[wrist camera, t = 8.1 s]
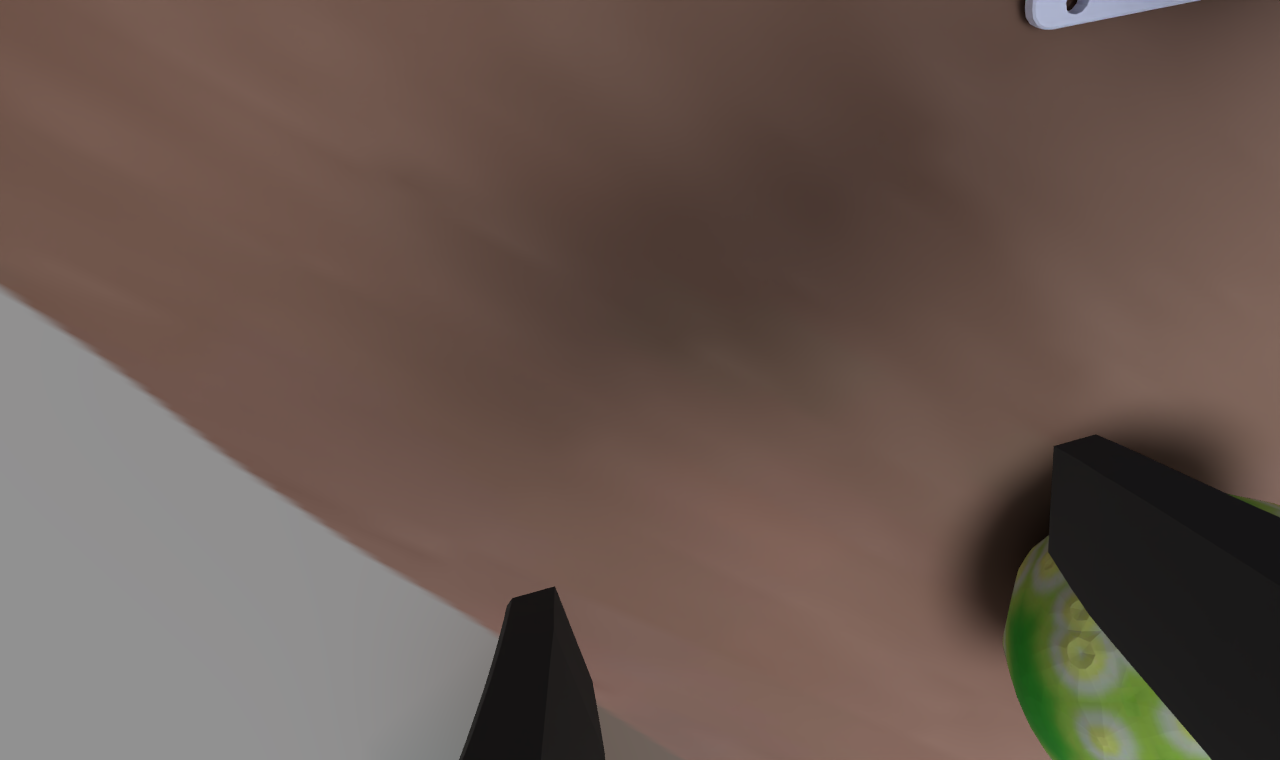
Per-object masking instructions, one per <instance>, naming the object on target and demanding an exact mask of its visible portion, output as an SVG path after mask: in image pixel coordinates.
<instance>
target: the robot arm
mask: <svg viewBox="0 0 1280 760" xmlns="http://www.w3.org/2000/svg"><path fill="white" fill-rule="evenodd" d="M1194 1H1199V0H1077V3H1076V5H1075V6H1074V7H1073V8H1072V9H1071V10H1069V11H1067V8H1066V2H1067V0H1025V15H1026V18H1027V20H1028V22H1029V23H1030V24H1031V25H1033V26H1034V27H1036V28H1040V29H1044V30H1053V29H1058V28H1063V27H1068V26H1073V25H1078V24H1083V23H1088V22H1093V21H1098V20H1103V19H1108V18H1113V17H1118V16H1123V15H1128V14H1133V13H1138V12H1143V11H1148V10H1153V9H1159V8H1164V7H1169V6H1174V5H1179V4H1184V3H1189V2H1194ZM1048 553H1049V554H1050V556H1051V558H1052V559H1053V561H1054V562H1055V564H1056V566H1057V567H1058V569H1059V570H1060V572H1061V573H1062V575H1063V577H1064V578H1065V580H1066V581H1067V583H1068V584H1069V586H1070V588H1071V589H1072V591H1073V592H1074V593H1075V595H1076V596H1077V598H1078V599H1079V601H1080V602H1081V604H1082V605H1083V607H1084V608H1085V610H1086V611H1087V613H1088V614H1089V615H1090V617H1091V618H1092V619H1093V620H1094V622H1095V623H1096V624H1097V625H1098V626H1099V628H1100V629H1101V630H1102V631H1103V632H1104V634H1105V635H1106V636H1107V637H1108V638H1109V640H1110V641H1111V642H1112V643H1113V644H1114V646H1115V647H1116V648H1117V649H1118V650H1119V652H1120V653H1121V654H1122V655H1123V656H1124V657H1125V659H1126V660H1127V661H1128V662H1129V663H1130V665H1131V666H1132V667H1133V668H1134V669H1135V670H1136V672H1137V673H1138V674H1139V675H1140V676H1141V677H1142V679H1143V680H1144V681H1145V682H1146V683H1147V684H1148V686H1149V687H1150V688H1151V689H1152V690H1153V691H1154V693H1155V694H1156V695H1157V696H1158V697H1159V698H1160V700H1161V701H1162V702H1163V703H1164V704H1165V705H1166V707H1167V708H1168V709H1169V710H1170V711H1171V713H1172V714H1173V715H1174V716H1175V717H1176V718H1177V720H1178V721H1179V722H1180V723H1181V724H1182V725H1183V727H1184V728H1185V729H1186V730H1187V731H1188V732H1189V734H1190V735H1191V736H1192V737H1193V738H1194V739H1195V741H1196V742H1197V743H1198V744H1199V745H1200V746H1201V748H1202V749H1203V750H1204V751H1205V752H1206V753H1207V755H1208V756H1209V757H1210V758H1211V760H1280V517H1278V516H1276V515H1274V514H1271V513H1269V512H1267V511H1264V510H1262V509H1260V508H1258V507H1255V506H1253V505H1251V504H1249V503H1246V502H1244V501H1242V500H1240V499H1237V498H1235V497H1233V496H1231V495H1228V494H1226V493H1224V492H1222V491H1220V490H1217V489H1215V488H1213V487H1211V486H1208V485H1206V484H1204V483H1202V482H1200V481H1198V480H1195V479H1193V478H1191V477H1189V476H1187V475H1185V474H1182V473H1180V472H1178V471H1176V470H1174V469H1172V468H1169V467H1167V466H1165V465H1163V464H1161V463H1159V462H1156V461H1154V460H1152V459H1150V458H1148V457H1146V456H1143V455H1141V454H1139V453H1137V452H1135V451H1133V450H1130V449H1128V448H1126V447H1124V446H1121V445H1119V444H1117V443H1115V442H1112V441H1110V440H1108V439H1105V438H1103V437H1101V436H1098V435H1092V436H1089V437H1085V438H1082V439H1078V440H1074V441H1071V442H1067V443H1064V444H1060V445H1057V446H1054V453H1053V471H1052V489H1051V507H1050V525H1049V543H1048ZM459 760H605V753H604V746H603V741H602V734H601V728H600V722H599V717H598V711H597V705H596V699H595V694H594V688H593V682H592V679H591V677H590V674H589V672H588V669H587V666H586V664H585V661H584V659H583V656H582V654H581V651H580V649H579V646H578V644H577V641H576V639H575V636H574V634H573V631H572V629H571V626H570V624H569V621H568V619H567V616H566V613H565V611H564V608H563V606H562V603H561V601H560V598H559V596H558V593H557V591H556V588H555V586H554V587H551V588H547V589H544V590H540V591H537V592H533V593H530V594H526V595H522V596H519V597H515V598H512V600H511V601H510V603H509V604H508V605H507V608H506V612H505V617H504V621H503V625H502V629H501V633H500V636H499V640H498V644H497V648H496V651H495V655H494V658H493V662H492V665H491V668H490V672H489V675H488V678H487V681H486V684H485V688H484V691H483V694H482V697H481V700H480V703H479V706H478V708H477V711H476V714H475V717H474V720H473V723H472V726H471V729H470V731H469V734H468V737H467V740H466V743H465V746H464V748H463V751H462V754H461V756H460V759H459Z"/></svg>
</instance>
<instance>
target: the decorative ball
mask: <svg viewBox="0 0 1280 760" xmlns="http://www.w3.org/2000/svg"><path fill="white" fill-rule="evenodd" d="M1228 495H1230V494H1228ZM1231 496H1233V497H1235V498H1237V499H1240V500H1242V501H1244V502H1246V503H1249V504H1251V505H1253V506H1255V507H1258V508H1260V509H1262V510H1264V511H1267V512H1269V513H1271V514H1274V515H1276V516H1278V517H1280V505H1277V504H1274V503H1270V502H1265V501H1261V500H1256V499H1250V498H1245V497H1240V496H1235V495H1231ZM1048 543H1049V535H1048V536H1047V537H1046V538H1045V539H1043V540H1042V541H1041V542H1040V543H1038V544H1037V545H1036V546H1034V547H1033V548H1032V549H1031V551H1030V552H1029V553H1028V555H1027V556H1026V558H1025V559H1024V561H1023V563H1022V564H1021V566H1020V567H1019V570H1018V573H1017V577H1016V581H1015V585H1014V589H1013V593H1012V597H1011V602H1010V606H1009V611H1008V616H1007V620H1006V625H1005V630H1004V634H1003V649H1004V652H1005V656H1006V660H1007V664H1008V668H1009V672H1010V676H1011V679H1012V682H1013V685H1014V688H1015V692H1016V695H1017V698H1018V700H1019V702H1020V705H1021V707H1022V709H1023V712H1024V714H1025V716H1026V718H1027V720H1028V723H1029V725H1030V727H1031V729H1032V730H1033V732H1034V733H1035V735H1036V737H1037V738H1038V740H1039V741H1040V743H1041V745H1042V746H1043V748H1044V749H1045V751H1046V752H1047V754H1048V755H1049V756H1050V758H1051V759H1052V760H1211V758H1210V757H1209V756H1208V755H1207V753H1206V752H1205V751H1204V750H1203V749H1202V748H1201V746H1200V745H1199V744H1198V743H1197V742H1196V741H1195V739H1194V738H1193V737H1192V736H1191V735H1190V734H1189V732H1188V731H1187V730H1186V729H1185V728H1184V727H1183V725H1182V724H1181V723H1180V722H1179V721H1178V720H1177V718H1176V717H1175V716H1174V715H1173V714H1172V713H1171V711H1170V710H1169V709H1168V708H1167V707H1166V705H1165V704H1164V703H1163V702H1162V701H1161V700H1160V698H1159V697H1158V696H1157V695H1156V694H1155V693H1154V691H1153V690H1152V689H1151V688H1150V687H1149V686H1148V684H1147V683H1146V682H1145V681H1144V680H1143V679H1142V677H1141V676H1140V675H1139V674H1138V673H1137V672H1136V670H1135V669H1134V668H1133V667H1132V666H1131V665H1130V663H1129V662H1128V661H1127V660H1126V659H1125V657H1124V656H1123V655H1122V654H1121V653H1120V652H1119V650H1118V649H1117V648H1116V647H1115V646H1114V644H1113V643H1112V642H1111V641H1110V640H1109V638H1108V637H1107V636H1106V635H1105V634H1104V632H1103V631H1102V630H1101V629H1100V628H1099V626H1098V625H1097V624H1096V623H1095V622H1094V620H1093V619H1092V618H1091V617H1090V615H1089V614H1088V613H1087V611H1086V610H1085V608H1084V607H1083V605H1082V604H1081V602H1080V601H1079V599H1078V598H1077V596H1076V595H1075V593H1074V592H1073V591H1072V589H1071V588H1070V586H1069V584H1068V583H1067V581H1066V580H1065V578H1064V577H1063V575H1062V573H1061V572H1060V570H1059V569H1058V567H1057V566H1056V564H1055V562H1054V561H1053V559H1052V558H1051V556H1050V554H1049V553H1048Z"/></svg>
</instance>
